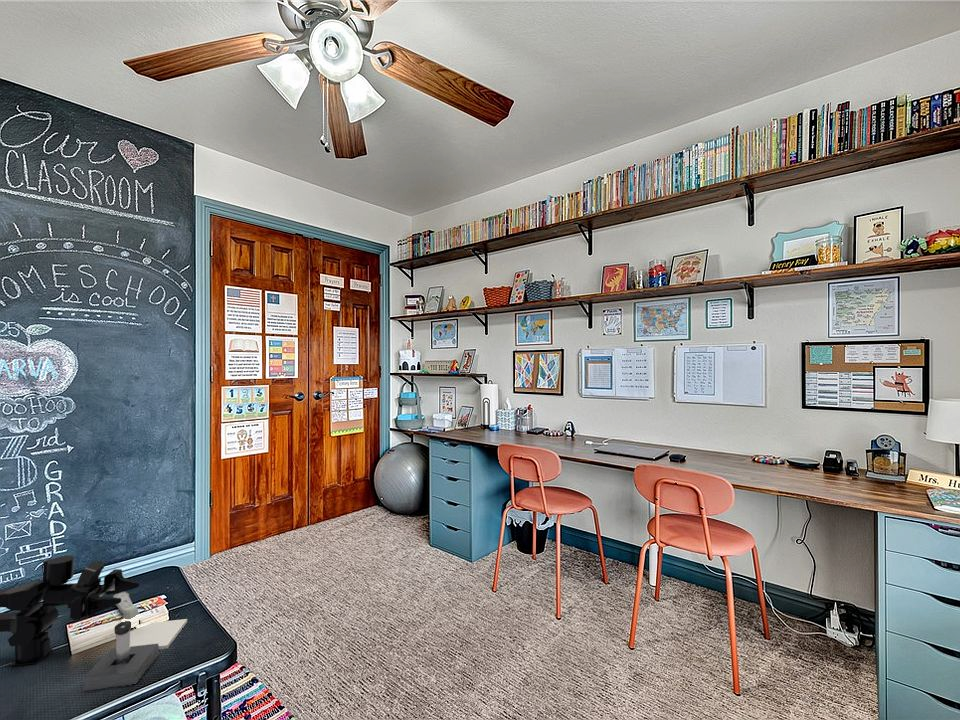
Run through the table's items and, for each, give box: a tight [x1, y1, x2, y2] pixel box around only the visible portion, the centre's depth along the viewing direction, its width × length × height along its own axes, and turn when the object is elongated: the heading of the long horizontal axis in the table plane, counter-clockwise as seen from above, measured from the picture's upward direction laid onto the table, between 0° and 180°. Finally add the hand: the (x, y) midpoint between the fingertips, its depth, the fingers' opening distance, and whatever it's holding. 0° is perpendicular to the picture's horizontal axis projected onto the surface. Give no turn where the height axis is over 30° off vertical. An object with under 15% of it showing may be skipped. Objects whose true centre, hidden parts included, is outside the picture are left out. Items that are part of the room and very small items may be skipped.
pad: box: [130, 618, 188, 651], centre depth 141 cm, size 14×14×1 cm
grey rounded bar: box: [112, 591, 139, 619], centre depth 153 cm, size 5×7×25 cm
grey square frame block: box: [83, 644, 159, 692], centre depth 125 cm, size 12×12×4 cm
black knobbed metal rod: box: [114, 621, 132, 665], centre depth 125 cm, size 4×4×13 cm
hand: (130, 592), depth 135 cm, fingers open, 9 cm apart
